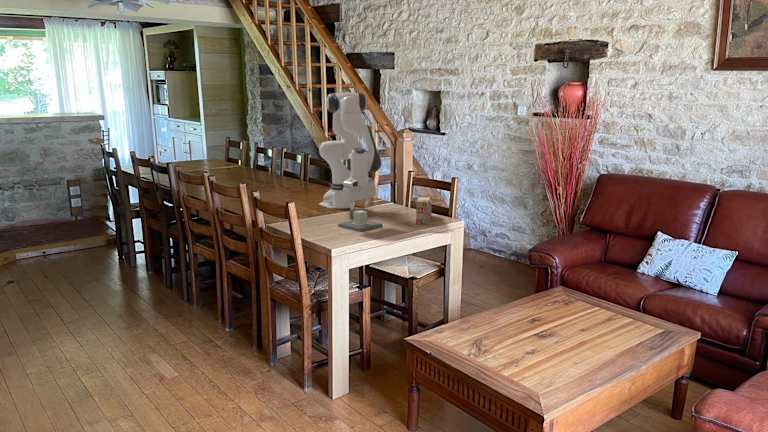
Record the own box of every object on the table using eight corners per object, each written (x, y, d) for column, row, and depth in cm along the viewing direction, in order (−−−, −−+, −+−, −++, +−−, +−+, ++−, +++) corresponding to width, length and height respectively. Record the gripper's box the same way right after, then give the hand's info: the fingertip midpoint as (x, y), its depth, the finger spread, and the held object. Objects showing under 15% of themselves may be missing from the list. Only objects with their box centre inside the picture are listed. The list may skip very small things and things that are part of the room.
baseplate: (338, 226, 314) (338, 223, 313) (361, 221, 325) (361, 218, 324) (359, 231, 303) (359, 228, 302) (382, 226, 314) (382, 222, 313)
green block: (353, 223, 313) (353, 211, 312) (360, 221, 317) (360, 210, 316) (360, 224, 310) (359, 212, 309) (367, 223, 313) (367, 211, 312)
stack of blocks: (420, 215, 338) (420, 193, 336) (431, 216, 337) (431, 194, 335) (415, 224, 318) (416, 201, 315) (427, 224, 317) (428, 201, 314)
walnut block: (349, 219, 330) (349, 208, 329) (356, 217, 334) (356, 206, 333) (356, 220, 327) (356, 209, 326) (363, 219, 330) (362, 208, 329)
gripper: (370, 177, 318) (370, 203, 321) (340, 182, 304) (340, 209, 307) (378, 179, 314) (378, 205, 317) (348, 184, 300) (349, 211, 303)
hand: (359, 207), depth 312 cm, fingers open, 8 cm apart
